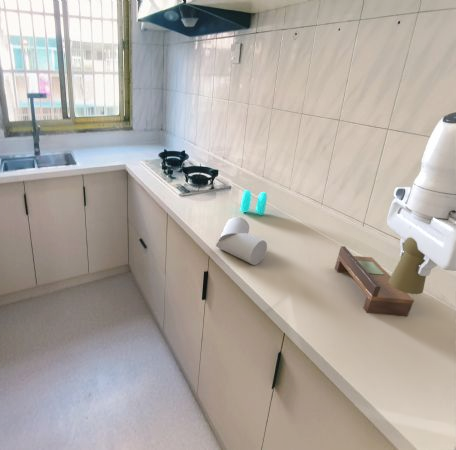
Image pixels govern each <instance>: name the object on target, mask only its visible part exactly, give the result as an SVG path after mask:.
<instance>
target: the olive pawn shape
mask: <svg viewBox="0 0 456 450" xmlns="http://www.w3.org/2000/svg"><path fill="white" fill-rule="evenodd" d="M404 248H405V252H404V254H403V256H402V257H401V258H400V259H399V261H398V263H397V265H396V267H395V268H394V270H393V272H392V274H391V275H390V276H391V277H390V279H389V284H390V285H391V286H392V287H394V288H396V289H398V290H400V291H402V292H405V293H407V294H409V295H410V294H411V295H421V294H423V292H424V289H425V284H426V278H427V276H421V275H419V274H418V273H417V272H416V268H417V264H423V263H424V262H425V260H424V256H425V255H424V254H423V253H422V252H420V251H419V250H418V247H417V242H416V241H415V240H414V239H413V238H411V237H409V238H407V239H406V241H405V244H404Z"/></svg>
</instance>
